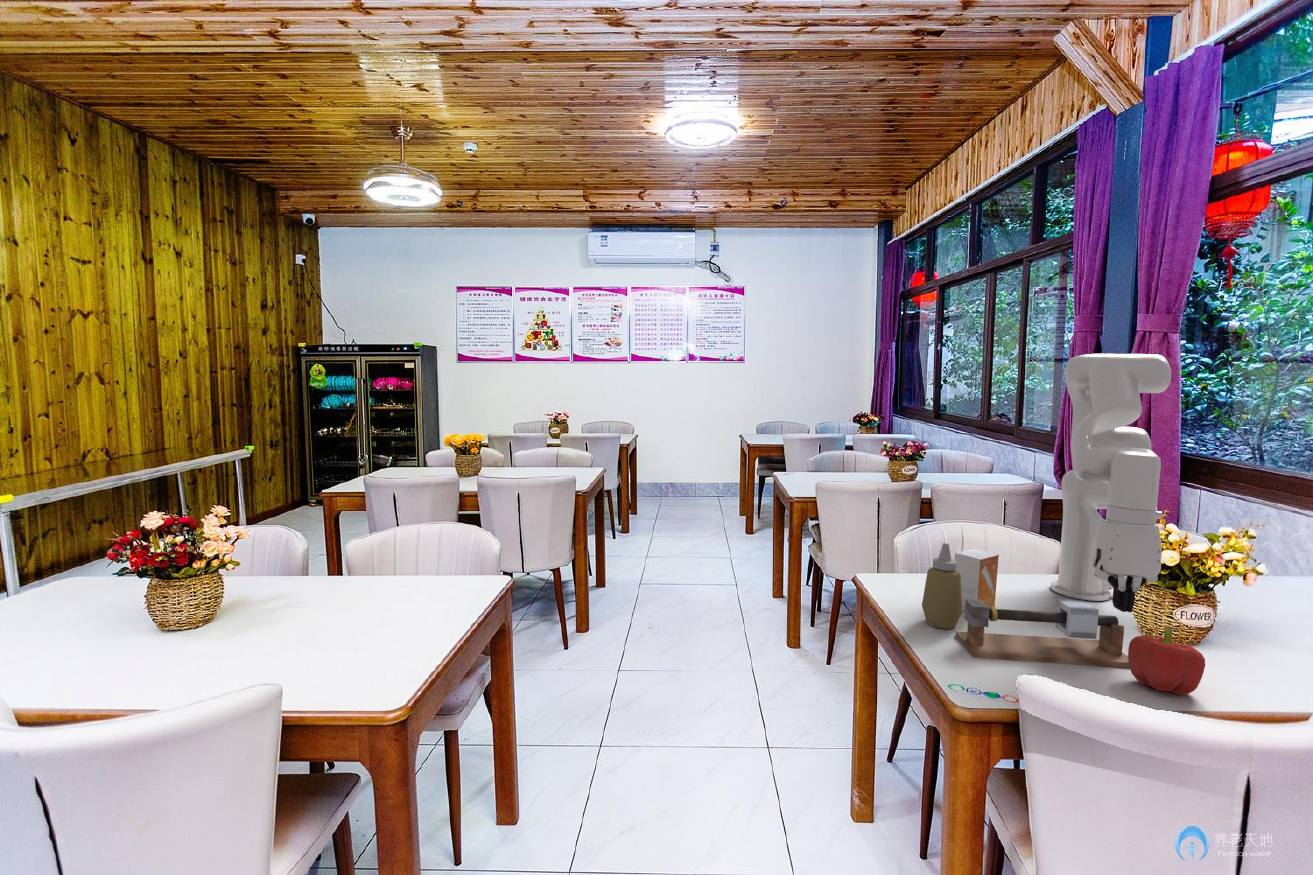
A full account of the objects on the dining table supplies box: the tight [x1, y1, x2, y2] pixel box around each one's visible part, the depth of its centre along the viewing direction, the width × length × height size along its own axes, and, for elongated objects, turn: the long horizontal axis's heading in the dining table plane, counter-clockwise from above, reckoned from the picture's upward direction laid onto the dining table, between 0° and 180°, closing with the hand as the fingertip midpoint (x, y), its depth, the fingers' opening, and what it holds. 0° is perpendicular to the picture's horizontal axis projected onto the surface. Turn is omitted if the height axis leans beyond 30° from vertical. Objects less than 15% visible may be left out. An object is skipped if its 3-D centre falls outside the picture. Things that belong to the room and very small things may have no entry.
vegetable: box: [1127, 624, 1206, 696], centre depth 108 cm, size 11×10×10 cm
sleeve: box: [1055, 599, 1100, 640], centre depth 121 cm, size 5×5×6 cm
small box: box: [954, 548, 1000, 611], centre depth 145 cm, size 8×6×13 cm
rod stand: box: [955, 599, 1130, 669], centre depth 122 cm, size 29×10×9 cm, turn 83°
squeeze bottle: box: [921, 542, 963, 630], centre depth 134 cm, size 8×8×18 cm
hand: (1122, 609), depth 119 cm, fingers closed
